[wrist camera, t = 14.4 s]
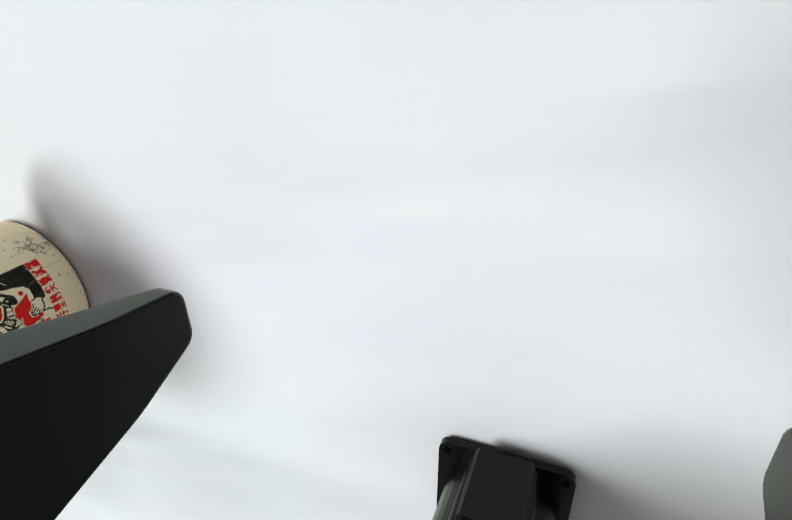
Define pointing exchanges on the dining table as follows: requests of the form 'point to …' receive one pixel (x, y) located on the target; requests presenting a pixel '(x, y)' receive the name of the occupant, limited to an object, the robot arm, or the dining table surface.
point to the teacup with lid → (34, 279)
